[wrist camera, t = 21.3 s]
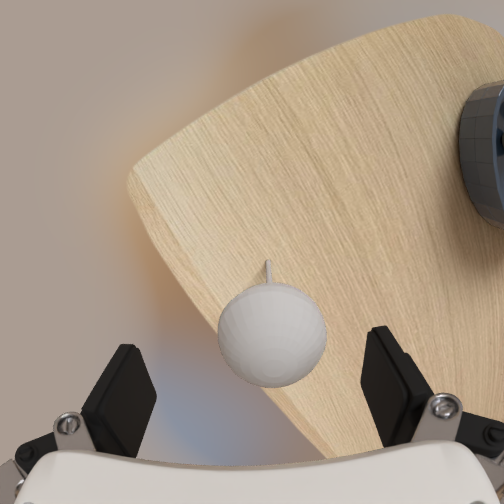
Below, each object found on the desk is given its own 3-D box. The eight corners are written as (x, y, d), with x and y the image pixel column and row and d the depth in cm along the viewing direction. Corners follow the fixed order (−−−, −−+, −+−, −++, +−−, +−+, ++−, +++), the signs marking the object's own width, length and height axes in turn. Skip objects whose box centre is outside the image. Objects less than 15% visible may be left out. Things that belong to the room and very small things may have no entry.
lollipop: (312, 270, 27) (356, 377, 13) (261, 302, 29) (260, 424, 14) (275, 216, 26) (292, 288, 12) (222, 253, 27) (183, 353, 13)
